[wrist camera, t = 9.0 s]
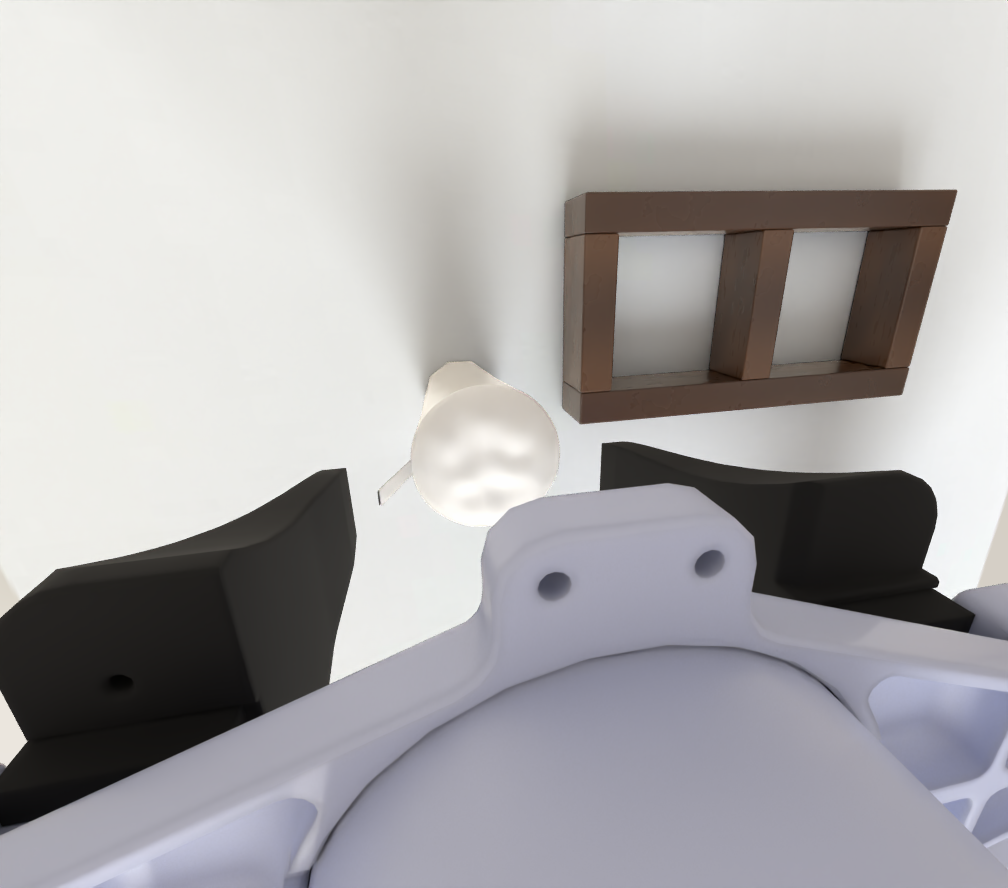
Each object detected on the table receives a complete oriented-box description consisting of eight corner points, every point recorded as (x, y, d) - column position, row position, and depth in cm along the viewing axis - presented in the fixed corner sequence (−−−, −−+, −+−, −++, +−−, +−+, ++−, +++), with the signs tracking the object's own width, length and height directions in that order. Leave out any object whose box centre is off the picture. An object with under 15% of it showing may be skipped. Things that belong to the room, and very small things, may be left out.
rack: (856, 383, 26) (902, 395, 23) (561, 408, 23) (580, 425, 20) (900, 198, 22) (958, 189, 20) (564, 201, 20) (586, 191, 17)
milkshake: (386, 347, 20) (367, 411, 11) (508, 342, 21) (584, 397, 12) (396, 446, 22) (387, 573, 13) (509, 437, 23) (577, 550, 14)
